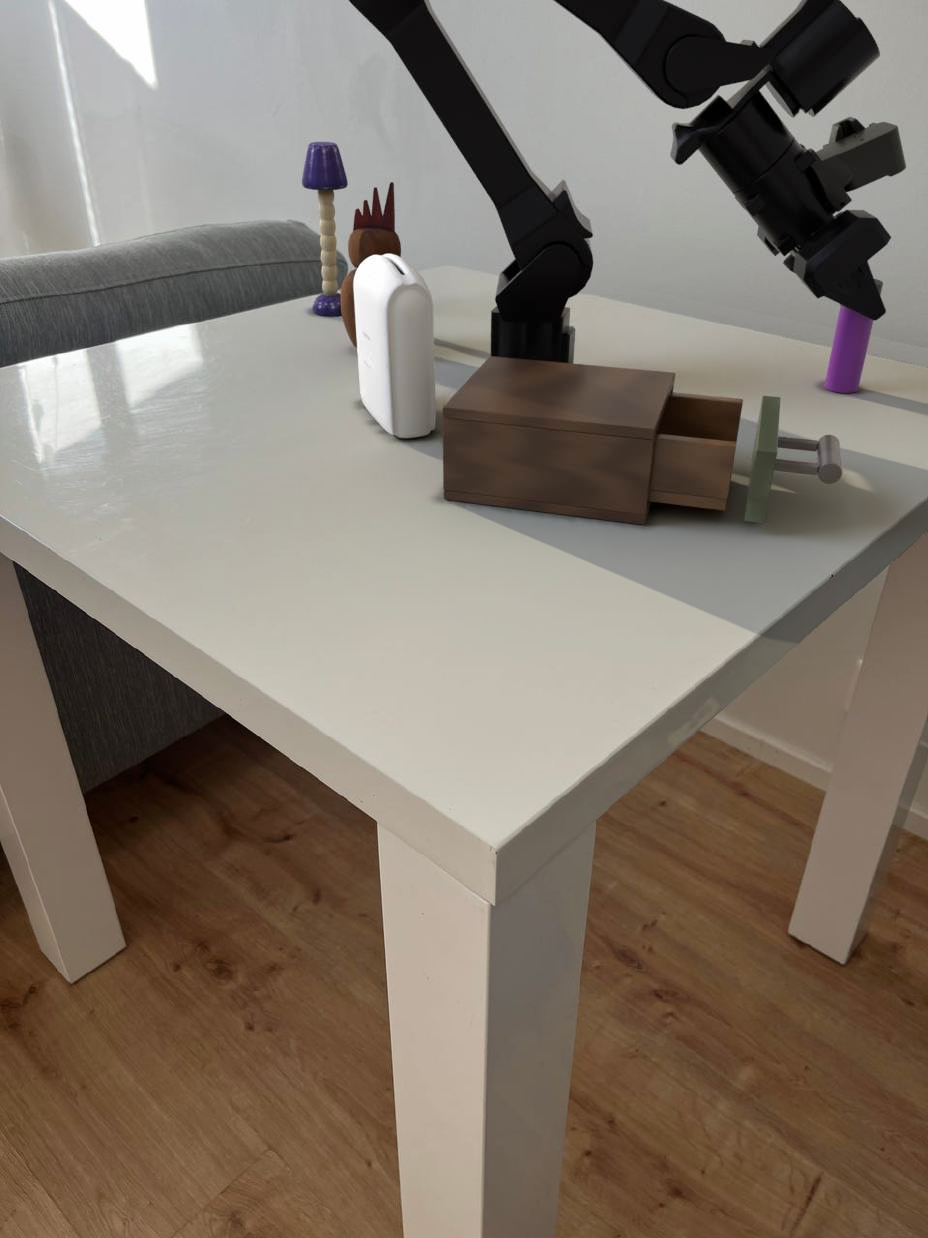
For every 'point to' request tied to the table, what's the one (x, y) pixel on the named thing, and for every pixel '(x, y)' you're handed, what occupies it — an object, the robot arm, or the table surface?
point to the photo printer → (395, 345)
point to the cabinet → (555, 438)
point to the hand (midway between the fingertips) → (874, 311)
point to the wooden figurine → (368, 248)
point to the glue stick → (849, 349)
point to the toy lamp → (326, 216)
